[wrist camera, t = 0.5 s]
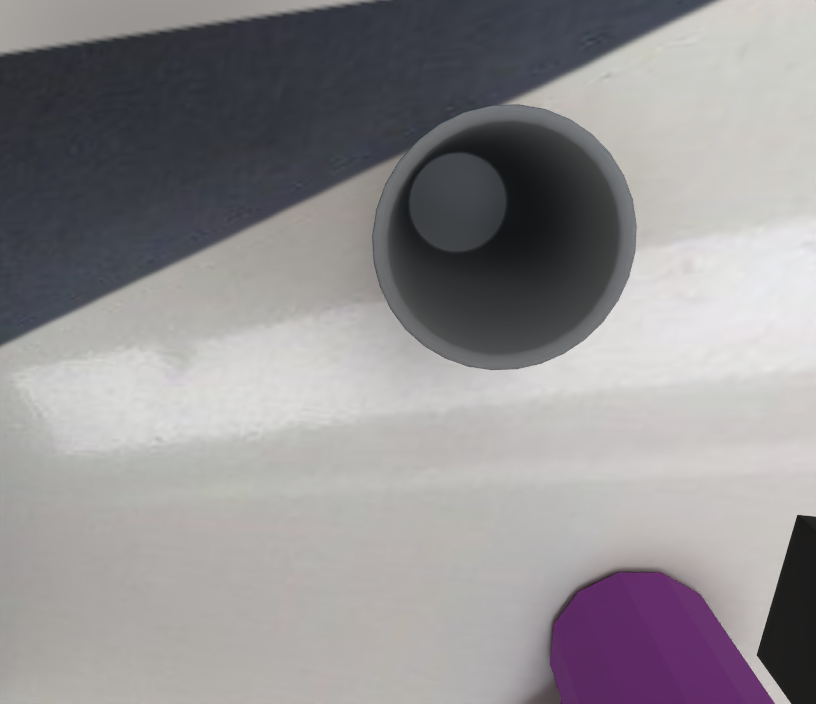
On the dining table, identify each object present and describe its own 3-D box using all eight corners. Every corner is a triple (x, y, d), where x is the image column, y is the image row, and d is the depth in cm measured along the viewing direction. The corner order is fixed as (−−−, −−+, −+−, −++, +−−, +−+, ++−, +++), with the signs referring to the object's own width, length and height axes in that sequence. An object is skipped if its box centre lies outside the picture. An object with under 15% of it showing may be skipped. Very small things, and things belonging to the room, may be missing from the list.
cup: (466, 91, 31) (525, 42, 17) (560, 209, 33) (689, 255, 18) (352, 196, 33) (316, 232, 18) (449, 305, 34) (487, 419, 20)
